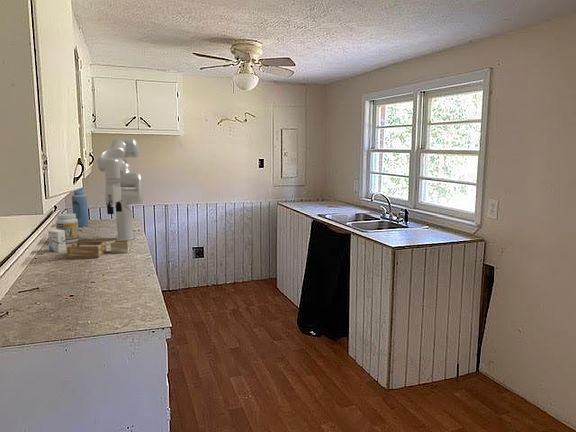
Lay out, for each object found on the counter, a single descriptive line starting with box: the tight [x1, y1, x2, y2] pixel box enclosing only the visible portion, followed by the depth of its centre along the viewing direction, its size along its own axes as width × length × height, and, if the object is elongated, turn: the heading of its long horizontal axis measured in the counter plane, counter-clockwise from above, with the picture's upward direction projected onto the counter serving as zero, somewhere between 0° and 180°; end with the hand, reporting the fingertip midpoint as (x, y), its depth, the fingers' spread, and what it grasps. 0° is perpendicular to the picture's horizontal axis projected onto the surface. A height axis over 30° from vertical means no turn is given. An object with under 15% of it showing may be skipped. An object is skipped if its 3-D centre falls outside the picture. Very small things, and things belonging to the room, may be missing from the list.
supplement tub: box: [55, 212, 80, 244], centre depth 274 cm, size 12×12×17 cm
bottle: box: [71, 186, 89, 228], centre depth 325 cm, size 10×10×30 cm
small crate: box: [110, 239, 131, 254], centre depth 249 cm, size 6×9×6 cm, turn 97°
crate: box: [66, 240, 107, 260], centre depth 241 cm, size 14×16×6 cm
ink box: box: [47, 228, 67, 253], centre depth 250 cm, size 9×5×12 cm, turn 62°
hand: (114, 212), depth 243 cm, fingers open, 9 cm apart
